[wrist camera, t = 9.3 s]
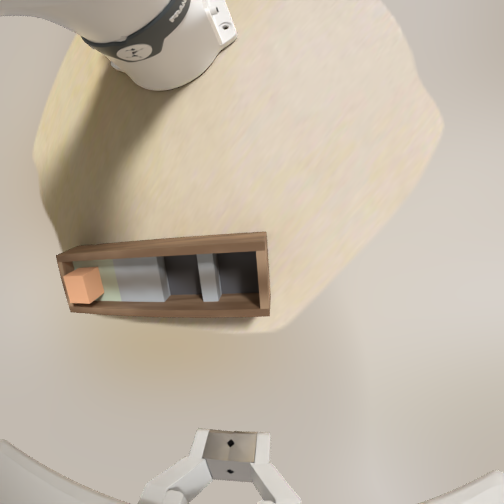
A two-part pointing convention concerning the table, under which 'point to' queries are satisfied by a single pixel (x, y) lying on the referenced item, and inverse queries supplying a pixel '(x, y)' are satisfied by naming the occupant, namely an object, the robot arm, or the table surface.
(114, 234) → the table surface
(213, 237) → the box
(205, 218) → the table surface
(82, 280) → the block
